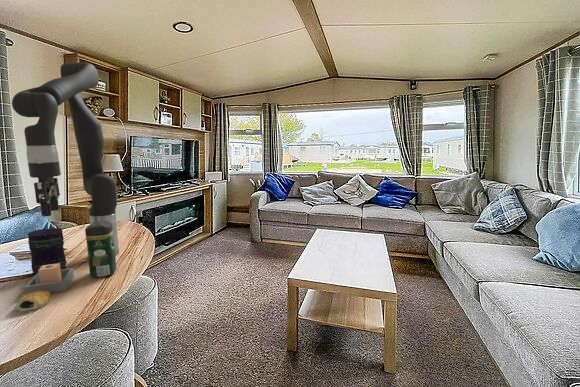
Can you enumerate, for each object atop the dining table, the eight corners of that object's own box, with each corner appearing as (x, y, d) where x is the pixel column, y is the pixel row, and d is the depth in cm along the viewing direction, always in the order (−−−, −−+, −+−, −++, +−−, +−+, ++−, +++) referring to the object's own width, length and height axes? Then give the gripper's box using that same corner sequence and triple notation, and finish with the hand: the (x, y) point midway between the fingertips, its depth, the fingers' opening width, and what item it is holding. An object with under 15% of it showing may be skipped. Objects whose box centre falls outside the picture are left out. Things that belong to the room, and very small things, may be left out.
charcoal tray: (38, 281, 105) (37, 272, 104) (74, 276, 109) (73, 268, 108) (25, 297, 94) (24, 287, 93) (65, 291, 98) (64, 281, 97)
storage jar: (31, 272, 113) (25, 231, 111) (64, 264, 120) (59, 226, 118) (34, 280, 106) (28, 237, 104) (69, 272, 113) (65, 231, 111)
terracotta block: (45, 282, 102) (42, 265, 101) (61, 280, 104) (59, 263, 103) (40, 288, 98) (38, 270, 97) (57, 286, 100) (55, 267, 99)
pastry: (32, 297, 94) (31, 285, 94) (58, 295, 96) (56, 283, 95) (12, 313, 85) (11, 300, 85) (41, 310, 87) (39, 297, 86)
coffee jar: (93, 270, 115) (88, 220, 112) (118, 267, 117) (114, 218, 115) (87, 280, 106) (81, 226, 103) (113, 277, 108) (109, 224, 106)
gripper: (36, 160, 100) (43, 210, 103) (19, 162, 88) (27, 219, 90) (64, 159, 103) (70, 207, 106) (51, 161, 90) (59, 216, 93)
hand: (51, 213), depth 98 cm, fingers open, 8 cm apart
